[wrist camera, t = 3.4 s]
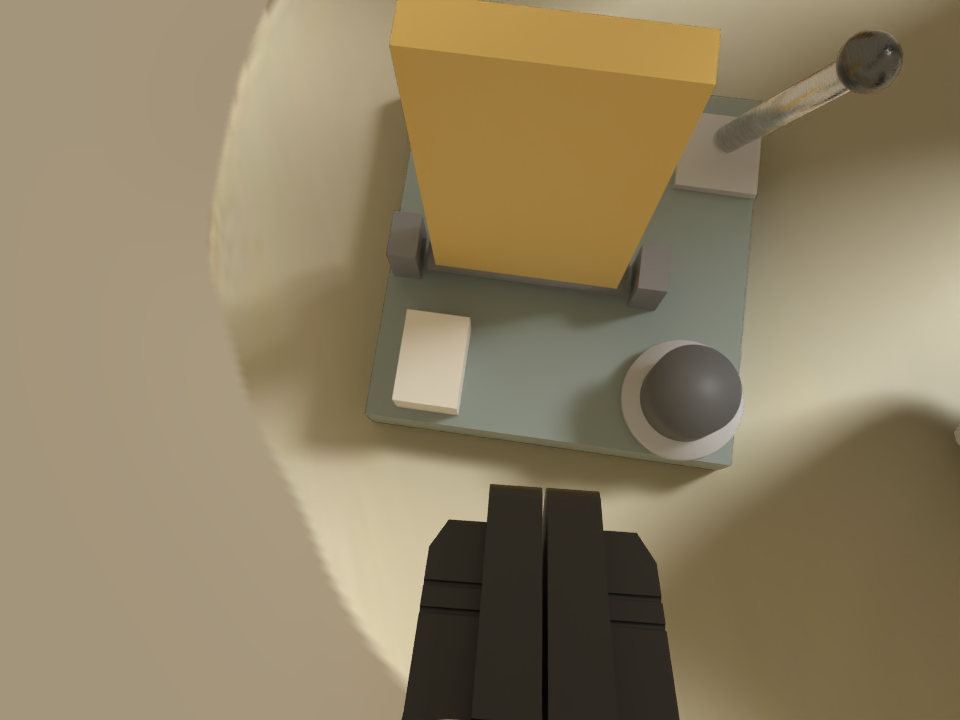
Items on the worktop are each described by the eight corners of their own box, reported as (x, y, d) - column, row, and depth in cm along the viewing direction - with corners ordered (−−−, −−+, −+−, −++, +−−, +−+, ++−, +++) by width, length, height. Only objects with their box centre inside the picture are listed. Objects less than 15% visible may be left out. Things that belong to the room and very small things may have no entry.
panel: (429, 87, 35) (420, 22, 31) (749, 126, 35) (786, 66, 30) (372, 423, 32) (352, 405, 28) (719, 473, 32) (755, 462, 27)
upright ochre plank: (434, 238, 31) (385, -15, 17) (624, 264, 31) (736, 26, 17) (428, 275, 31) (373, 47, 17) (620, 300, 31) (730, 91, 16)
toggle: (700, 114, 31) (873, 8, 24) (739, 129, 32) (918, 31, 25) (695, 159, 31) (869, 65, 24) (735, 174, 32) (915, 86, 25)
